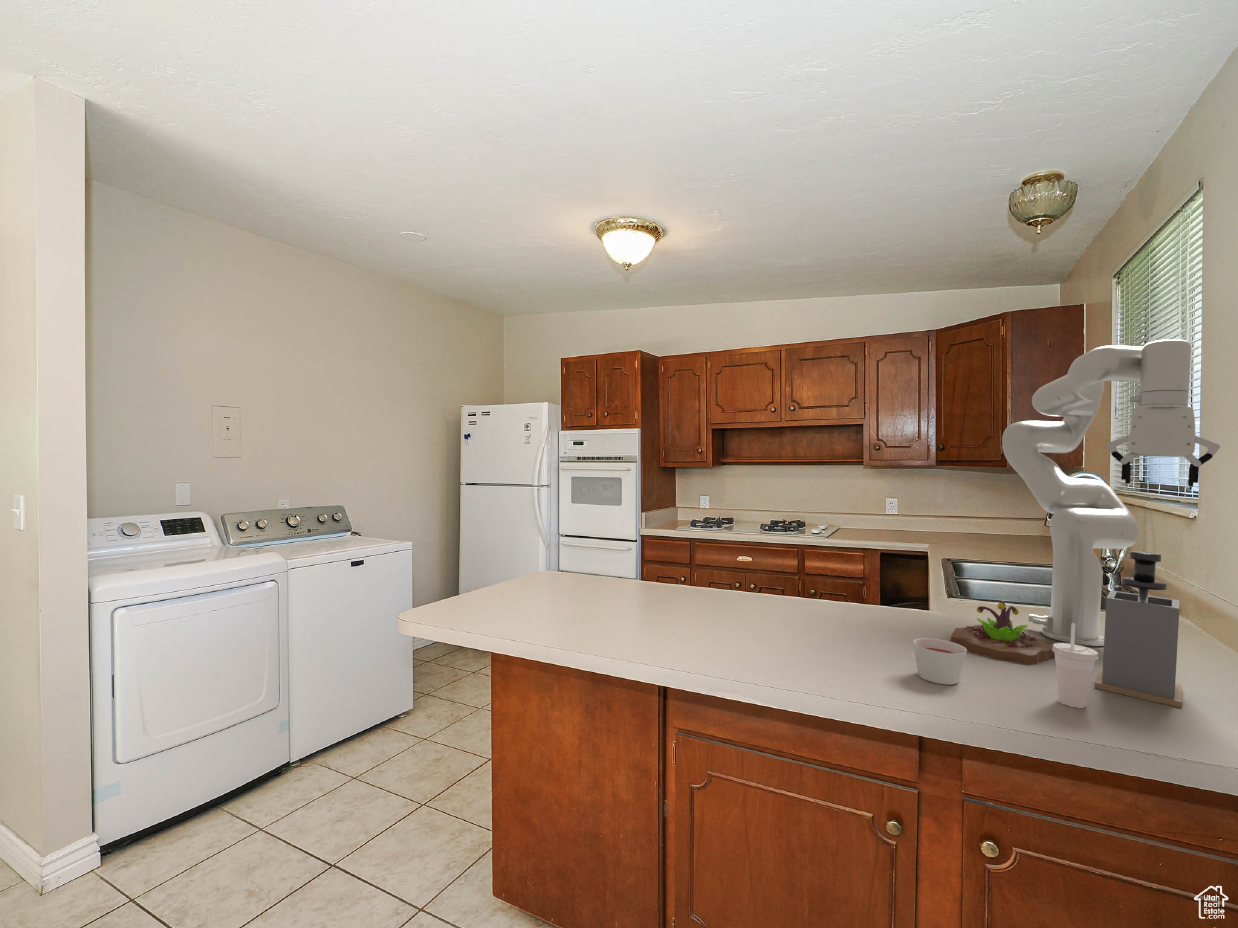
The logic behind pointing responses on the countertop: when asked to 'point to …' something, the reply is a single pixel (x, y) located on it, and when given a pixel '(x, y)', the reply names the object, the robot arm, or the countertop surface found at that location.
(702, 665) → the countertop surface
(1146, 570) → the plunger
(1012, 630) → the plant
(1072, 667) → the smoothie
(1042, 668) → the countertop surface
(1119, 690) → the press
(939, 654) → the candle
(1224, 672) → the countertop surface
